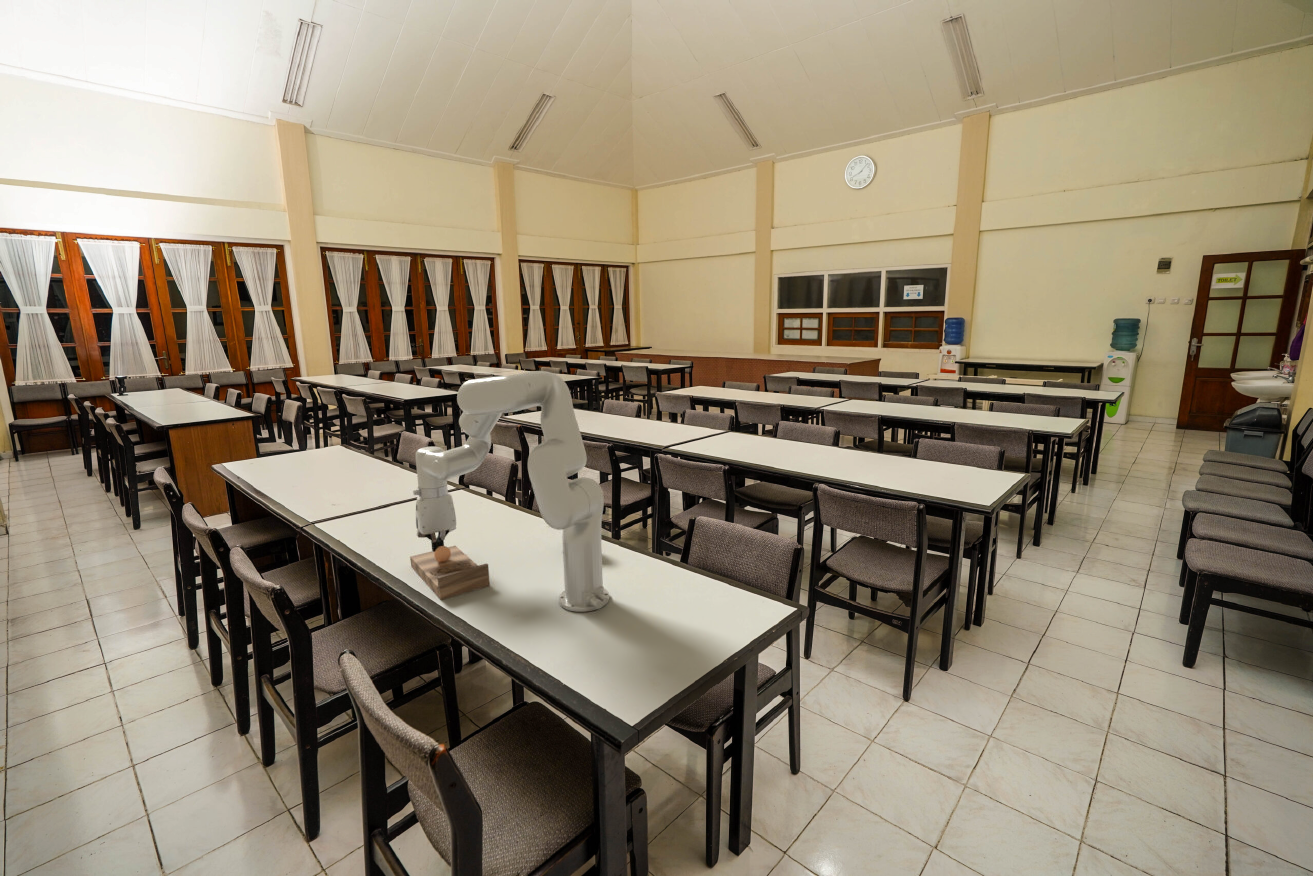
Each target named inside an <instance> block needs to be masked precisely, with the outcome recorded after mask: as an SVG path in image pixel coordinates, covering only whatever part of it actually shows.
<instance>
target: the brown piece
mask: <svg viewBox="0 0 1313 876" xmlns="http://www.w3.org/2000/svg"><path fill="white" fill-rule="evenodd" d="M447 547H448V548H449V549H450V551H451V556H450V558H449V559H448V560H447V561H445V562H439V561H437V560H436V559H435V556H434V553H435V552H433V551H432V550H431V551H427V552H423V553H419V554H416V555H411V556H409V558H410V566H411V568H412V569H413V571H415V572H416V574H417V576H419V577H420V578H421V579H422V581H423V582H424V583H425V584H426V585H427V586H428V587H429V589H430V590H431V591H433V593H434V595H435V596H436V597H437V598H438V599H439V600H440V601H442V600H445V599H449V598H452V597H455V596H459V595H462V594H465V593H469V592H473V591H476V590H479V589H483V588H486V587H489V586H491V584H490V571H489V564H488V563H483V564H479V565H478V564H477V563H476V562H475V561H473V560H472V559H471V558H470V557H469V556H468V555H467V554H465V553H464V552H463V551H462V550H461V549H460V548H459V547H458V546H456V545H453V546H447Z"/></svg>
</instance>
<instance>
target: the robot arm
mask: <svg viewBox="0 0 1313 876" xmlns="http://www.w3.org/2000/svg"><path fill="white" fill-rule="evenodd" d="M456 401H457V405H458V406H459V408H460V410H461V411H462V413H461V415H460V416H459V419H458V425H459V427H460V429H461V430H462V431H463V432H464V433H465V434H466V435H467V436H468V438H467V439H466V442H464V444H463V445H462V446H458V447H455V448H452V449H451V448H450V449H448V450H445V449H443V448H442V447H440V446H426V447H425V446H424V447H421V448H419V449H417V450H416V451H415V464H416V465H415V466H416V474H417V475H416V476H417V489H416V490H413V491H412V493H413V496H417V497H416V503H415V527H416V529H417V530H416V536H417V538H420V539H421V538H423V539H425V538H426V539H428V540H430V542H431V551H433V552H435V550H436V549H437V548H438V547H440V546H445V542H444V540H446V537H447V536H448V534H450V533H451V532H454V531H455V530H456V529H457V515H456V509H455V505H454V504H455V503H454V500H453V496H452V494H451V493H450V492H449V490H448V480H451V479H454V478H458V477H460V476H462V475H465V474H468V473H471V472H473V471H475V470H477V468H479V467H480V466H481V464H482V463H483V462H484V460H485V459H486V457H487V456H488V454H489V452H490V449H491V448H492V447H491V446H492V436H491V433H492V430H493V429H494V427H495V426H496V425H497V423H498V421H499V419H500V418H501V416H502V415H503V414H507V413H514V412H518V411H522V410H523V411H524V410H527V409H530V408H534V407H541V411H540V426H541V428H540V429H541V430H542V433H543V434H542V435H543V437H544V442H542V443H539V444H538V445H536V446H535V447H533V448H532V450H531V451H530V453H529V455H528V458H527V471H528V472H527V473H528V476H529V480H530V483H531V487H532V490H533V494H534V496H535V500H536V503H537V507H538V511H539V513H540V515H541V517H542V519H543V521H544V522H545V524H546V525H548V526H549V527H550V528H552V529H553V530H554V529H555V530H559V531H562V536H561V537H562V557H563V558H562V561H563V577H564V578H563V579H564V580H563V581H564V590H563V591H562V592H561V593H560V594H559V596H558V603H559V605H560V606H561V608H564V609H565V610H567V611H570V612H575V613H576V612H578V613H579V612H580V613H581V612H583V613H584V612H592V611H595V610H600V609H601V608H603V607H604V606H606V605H607V604H608V603H609V601H610V592H609V591H608V589H606V588H604V584H603V582H604V581H603V553H602V549H603V548H602V520H603V511H604V506H605V503H604V502H605V497H604V491H603V488H602V487H601V485H600V484H599V483H598V482H597V480H595V479H593V478H591V477H588V476H587V477H585V476H584V477H578V478H574V479H572V480H570V481H569V480H568V477H571V476H573V475H575V474H577V473H578V472H580V471H582V470H583V469H584V468H585V466H586V465H587V461H588V459H587V453H586V449H585V445H584V441H583V437H582V435H581V431H580V427H579V424H578V420H577V417H576V413H575V410H574V405H573V400H572V395H571V391H570V388H569V387H568V385H567V383H566V382H565V380H564V379H563V378H562V377H561V376H559V375H558V374H556V373H554V372H550V371H546V370H536V371H535V370H534V371H525V372H521V373H517V374H516V373H515V374H509V375H502V376H486V377H481V378H474V379H469V380H467V381H465V382H463V384H461V386H460V387H459V389H458V391H457V396H456ZM436 533H437V535H436Z"/></svg>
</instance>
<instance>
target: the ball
mask: <svg viewBox="0 0 1313 876" xmlns="http://www.w3.org/2000/svg"><path fill="white" fill-rule="evenodd" d="M448 547H449V546H446V545H444V546H440V547H438V548H437V549H436V550H435V553H434V556H435V559H436V560H437V561H439V562H445V561H447V560H448V559H449V558H450V556H451V551H450V549H449V548H448Z"/></svg>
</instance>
